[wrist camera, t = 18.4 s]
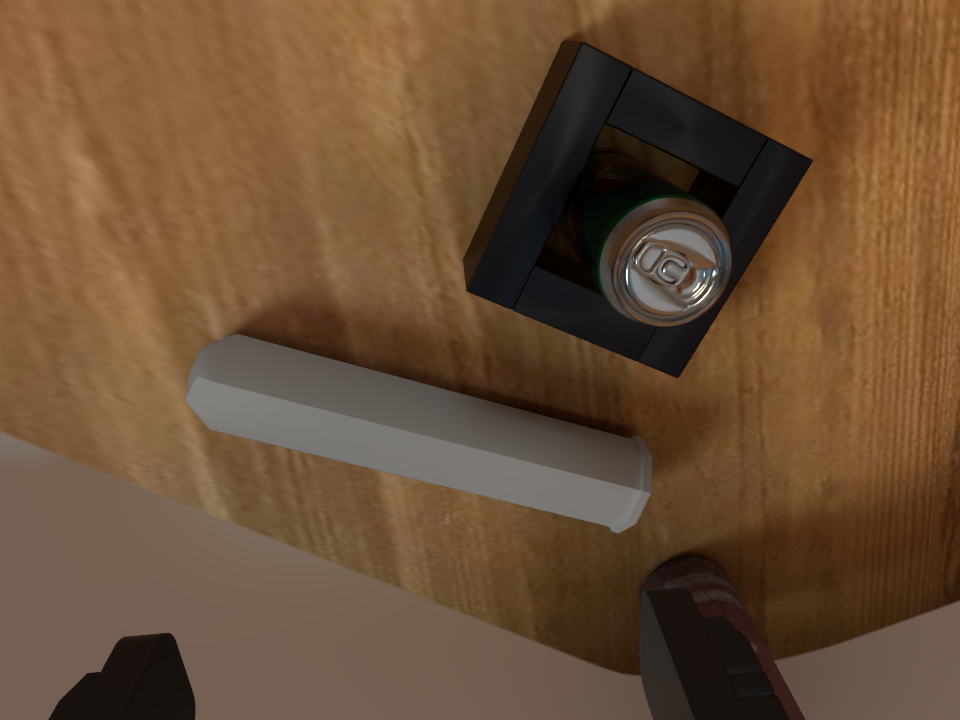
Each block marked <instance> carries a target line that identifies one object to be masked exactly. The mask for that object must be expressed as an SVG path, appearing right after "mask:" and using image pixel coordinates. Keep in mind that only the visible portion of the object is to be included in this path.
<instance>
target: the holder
mask: <svg viewBox="0 0 960 720" xmlns="http://www.w3.org/2000/svg"><path fill="white" fill-rule="evenodd" d="M605 123H606V124H608V125H610V126H613V127H615V128H617V129H619V130H621V131H623V132H625V133H627V134H629V135H631V136H633V137H635V138H637V139H639V140H641V141H643V142H645V143H647V144H649V145H651V146H653V147H655V148H657V149H659V150H661V151H663V152H665V153H667V154H669V155H671V156H674V157H676V158H678V159H680V160H682V161H684V162H686V163H688V164H690V165H692V166H694V167H696V168H698V169H700V170H701V172H700V173H699V175H698V177H697V179H696V181H695V182H694V184H693V186H692V188H691V189H690V191H689V194H691V195H692V196H694V197H695V198H697V199H699V200H700V201H702V202H703V203H705V204H706V205H708V206H709V207H710V208H712V209H713V210H714V211H715V212H716V213H717V215H718V216H719V217H720V218H721V220H722V221H723V223H724V225H725V227H726V229H727V232H728V234H729V239H730V244H731V261H732V265H731V273H730V277H729V280H728V283H727V285H726V287H725V290H724V291H723V293H722V295H721V296H720V298H719V299H718V300H717V301H716V303H715V304H714V305H713V306H712V307H711V308H710V309H709V310H707V311H706V312H705V313H704V314H702V315H701V316H699V317H698V318H696V319H694V320H692V321H690V322H687V323H684V324H680V325H675V326H654V325H644V324H640V323H636V322H633V321H631V320H629V319H627V318H625V317H623V316H622V315H620V314H619V313H617V312H616V311H615V310H614V309H613V308H612V307H611V306H610V305H609V303H608V302H607V300H606V299H605V298H604V296H603V294H602V293H601V291H600V290H599V288H598V287H597V285H596V284H595V282H594V280H593V279H592V277H591V276H590V274H589V273H588V271H587V269H586V268H585V266H584V265H583V264H582V263H580V262H577V261H575V260H573V259H571V258H568V257H566V256H564V255H561V254H559V253H557V252H555V251H552V250H550V249H548V248H545V247H544V245H545V243H546V241H547V239H548V237H549V235H550V233H551V231H552V229H553V227H554V225H555V223H556V221H557V219H558V217H559V215H560V213H561V211H562V209H563V207H564V205H565V203H566V201H567V199H568V197H569V195H570V193H571V191H572V189H573V187H574V185H575V183H576V181H577V179H578V177H579V175H580V173H581V171H582V169H583V167H584V165H585V163H586V161H587V159H588V157H589V155H590V153H591V151H592V149H593V147H594V145H595V143H596V141H597V139H598V137H599V135H600V133H601V131H602V129H603V127H604V125H605ZM812 162H813V160H812V159H810V158H808V157H806V156H804V155H802V154H800V153H798V152H796V151H794V150H793V149H791V148H789V147H787V146H785V145H783V144H781V143H779V142H777V141H775V140H773V139H771V138H769V137H767V136H765V135H763V134H761V133H760V132H758V131H756V130H754V129H752V128H750V127H748V126H746V125H744V124H742V123H740V122H738V121H736V120H734V119H732V118H731V117H729V116H727V115H725V114H723V113H721V112H719V111H717V110H715V109H713V108H711V107H709V106H707V105H705V104H703V103H701V102H700V101H698V100H696V99H694V98H692V97H690V96H688V95H686V94H684V93H682V92H680V91H678V90H676V89H674V88H672V87H671V86H669V85H667V84H665V83H663V82H661V81H659V80H657V79H655V78H653V77H651V76H649V75H647V74H645V73H643V72H641V71H640V70H638V69H636V68H632V66H630V65H628V64H626V63H624V62H622V61H620V60H618V59H616V58H614V57H612V56H611V55H609V54H607V53H605V52H603V51H601V50H599V49H597V48H595V47H593V46H591V45H589V44H587V43H585V42H576V41H563V42H562V43H561V45H560V47H559V50H558V52H557V54H556V56H555V58H554V61H553V63H552V65H551V67H550V69H549V72H548V74H547V76H546V78H545V80H544V83H543V85H542V87H541V89H540V91H539V94H538V96H537V98H536V100H535V102H534V105H533V107H532V109H531V111H530V113H529V116H528V118H527V120H526V122H525V124H524V127H523V129H522V131H521V133H520V135H519V138H518V140H517V142H516V144H515V146H514V149H513V151H512V153H511V155H510V157H509V160H508V162H507V164H506V166H505V168H504V171H503V173H502V175H501V177H500V179H499V182H498V184H497V186H496V188H495V190H494V193H493V195H492V197H491V199H490V201H489V204H488V206H487V208H486V210H485V212H484V215H483V217H482V219H481V221H480V223H479V226H478V228H477V230H476V232H475V234H474V237H473V239H472V241H471V243H470V245H469V248H468V250H467V252H466V254H465V256H464V259H463V265H464V273H465V282H466V291H467V292H470V293H472V294H474V295H477V296H479V297H482V298H484V299H487V300H489V301H491V302H494V303H496V304H499V305H501V306H503V307H506V308H508V309H513V311H515V312H518V313H520V314H523V315H525V316H527V317H530V318H532V319H535V320H537V321H540V322H542V323H544V324H547V325H549V326H552V327H554V328H556V329H559V330H561V331H564V332H566V333H569V334H571V335H573V336H576V337H578V338H581V339H583V340H586V341H588V342H590V343H593V344H595V345H598V346H600V347H603V348H605V349H607V350H610V351H612V352H615V353H617V354H620V355H622V356H624V357H627V358H629V359H632V360H634V361H638V362H639V363H642V364H644V365H647V366H649V367H652V368H654V369H656V370H659V371H661V372H664V373H666V374H669V375H671V376H673V377H676V378H679V376H680V375H681V373H682V372H683V370H684V368H685V367H686V365H687V363H688V362H689V360H690V359H691V357H692V355H693V354H694V352H695V351H696V349H697V347H698V346H699V344H700V342H701V341H702V339H703V338H704V336H705V334H706V333H707V331H708V330H709V328H710V326H711V325H712V323H713V322H714V320H715V318H716V317H717V315H718V313H719V312H720V310H721V309H722V307H723V305H724V304H725V302H726V301H727V299H728V297H729V296H730V294H731V292H732V291H733V289H734V288H735V286H736V284H737V283H738V281H739V280H740V278H741V276H742V275H743V273H744V272H745V270H746V268H747V267H748V265H749V263H750V262H751V260H752V259H753V257H754V255H755V254H756V252H757V251H758V249H759V247H760V246H761V244H762V243H763V241H764V239H765V238H766V236H767V234H768V233H769V231H770V230H771V228H772V226H773V225H774V223H775V222H776V220H777V218H778V217H779V215H780V213H781V212H782V210H783V209H784V207H785V205H786V204H787V202H788V201H789V199H790V197H791V196H792V194H793V193H794V191H795V189H796V188H797V186H798V184H799V183H800V181H801V180H802V178H803V176H804V175H805V173H806V172H807V170H808V168H809V167H810V165H811V163H812Z"/></svg>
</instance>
